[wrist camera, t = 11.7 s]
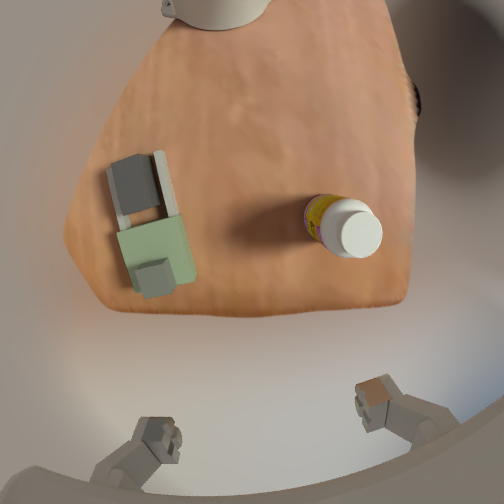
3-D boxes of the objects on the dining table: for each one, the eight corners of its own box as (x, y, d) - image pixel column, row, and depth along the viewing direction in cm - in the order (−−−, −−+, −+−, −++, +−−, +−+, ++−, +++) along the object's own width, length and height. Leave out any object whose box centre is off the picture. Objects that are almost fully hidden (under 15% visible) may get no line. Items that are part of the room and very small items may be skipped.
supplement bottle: (293, 214, 38) (317, 231, 26) (328, 184, 37) (367, 187, 25) (322, 249, 39) (355, 280, 27) (355, 220, 38) (401, 238, 26)
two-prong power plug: (110, 170, 35) (90, 169, 30) (166, 150, 35) (153, 146, 29) (142, 286, 40) (128, 302, 34) (197, 274, 40) (190, 289, 34)
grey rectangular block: (161, 204, 37) (150, 207, 32) (136, 211, 37) (123, 216, 32) (150, 156, 35) (138, 153, 30) (126, 165, 35) (111, 163, 31)
